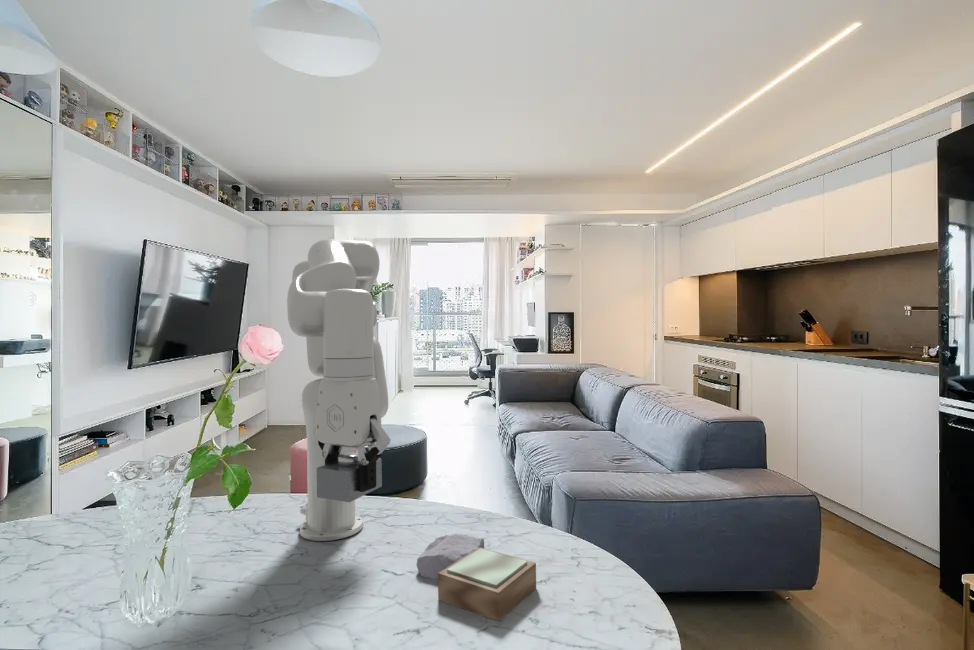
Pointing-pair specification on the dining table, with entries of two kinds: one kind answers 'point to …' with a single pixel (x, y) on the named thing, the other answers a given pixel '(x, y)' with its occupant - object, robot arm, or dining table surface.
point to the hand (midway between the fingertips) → (350, 484)
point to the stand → (487, 582)
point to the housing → (343, 478)
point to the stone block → (446, 553)
